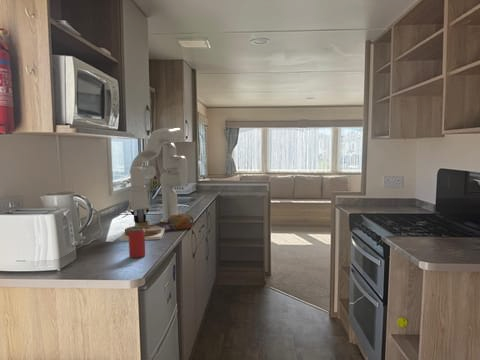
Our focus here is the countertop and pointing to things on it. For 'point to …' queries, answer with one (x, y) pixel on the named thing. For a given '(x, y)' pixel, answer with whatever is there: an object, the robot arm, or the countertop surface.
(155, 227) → the dial
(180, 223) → the tin
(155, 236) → the dial base
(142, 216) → the grey rounded cylinder
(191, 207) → the countertop surface
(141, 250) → the beer can
